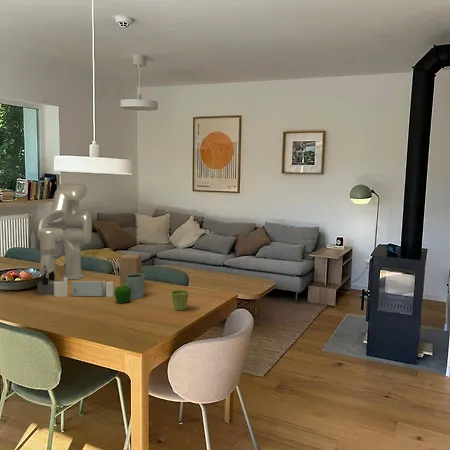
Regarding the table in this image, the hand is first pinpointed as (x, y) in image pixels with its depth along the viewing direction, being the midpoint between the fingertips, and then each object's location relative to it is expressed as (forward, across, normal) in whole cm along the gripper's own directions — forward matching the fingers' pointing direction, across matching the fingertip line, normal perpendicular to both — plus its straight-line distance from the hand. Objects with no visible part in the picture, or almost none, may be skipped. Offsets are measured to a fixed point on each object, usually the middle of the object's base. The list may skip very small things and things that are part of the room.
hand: (48, 282), depth 248 cm
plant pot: (+7, +26, +75) cm, 80 cm away
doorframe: (+6, +5, +21) cm, 23 cm away
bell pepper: (+7, +15, +44) cm, 47 cm away
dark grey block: (+6, -1, 0) cm, 6 cm away
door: (+6, +6, +23) cm, 24 cm away
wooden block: (+6, -9, +44) cm, 45 cm away
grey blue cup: (+6, +5, +49) cm, 50 cm away
